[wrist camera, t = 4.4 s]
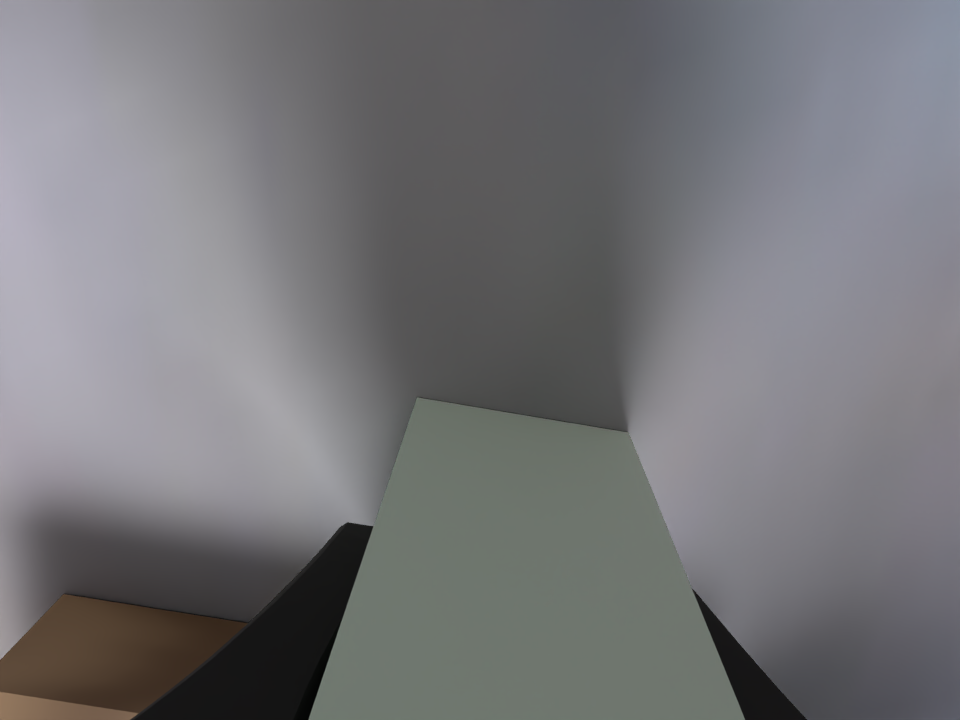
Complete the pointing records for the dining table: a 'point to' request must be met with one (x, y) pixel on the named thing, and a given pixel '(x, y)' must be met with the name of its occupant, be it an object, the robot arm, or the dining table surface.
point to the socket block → (103, 659)
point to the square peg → (520, 584)
